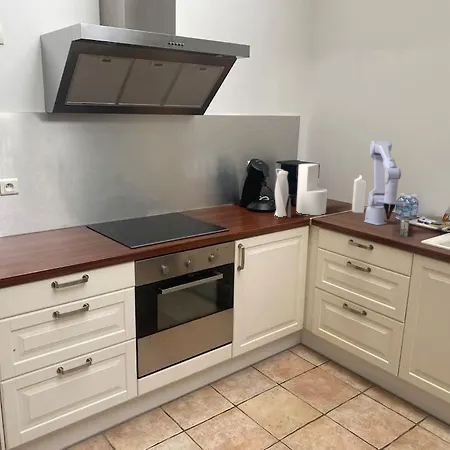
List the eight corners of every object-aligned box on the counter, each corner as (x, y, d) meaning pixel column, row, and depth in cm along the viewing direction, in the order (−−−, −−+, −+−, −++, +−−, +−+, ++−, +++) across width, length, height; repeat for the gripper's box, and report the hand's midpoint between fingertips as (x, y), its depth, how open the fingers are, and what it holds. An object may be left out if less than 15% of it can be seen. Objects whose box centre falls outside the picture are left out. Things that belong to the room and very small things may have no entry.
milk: (361, 210, 279) (364, 174, 274) (364, 213, 273) (367, 176, 268) (351, 210, 279) (354, 174, 274) (353, 212, 273) (356, 175, 268)
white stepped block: (291, 213, 270) (293, 165, 263) (302, 208, 284) (305, 163, 277) (319, 217, 261) (322, 168, 254) (329, 211, 275) (333, 165, 268)
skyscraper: (278, 220, 254) (280, 169, 247) (270, 217, 261) (272, 168, 254) (291, 219, 257) (293, 169, 250) (283, 216, 264) (285, 167, 257)
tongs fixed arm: (399, 224, 246) (400, 219, 245) (408, 225, 244) (409, 219, 244) (398, 235, 224) (399, 229, 223) (408, 236, 222) (409, 230, 222)
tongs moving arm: (400, 225, 243) (401, 221, 242) (406, 226, 242) (407, 221, 241) (400, 235, 224) (400, 230, 223) (406, 236, 223) (406, 231, 222)
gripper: (374, 192, 225) (372, 219, 229) (406, 194, 220) (403, 222, 224) (375, 190, 232) (373, 216, 235) (406, 192, 227) (403, 219, 230)
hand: (388, 219), depth 230 cm, fingers closed
